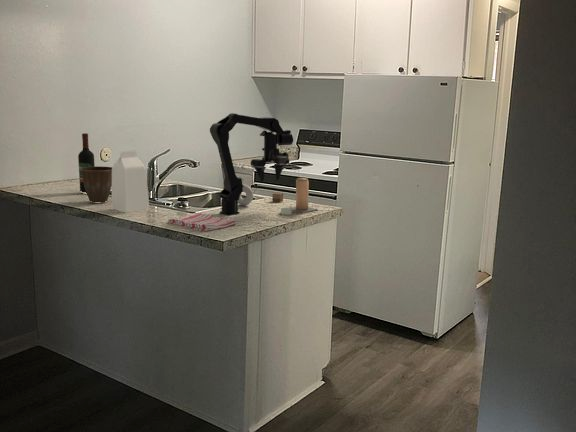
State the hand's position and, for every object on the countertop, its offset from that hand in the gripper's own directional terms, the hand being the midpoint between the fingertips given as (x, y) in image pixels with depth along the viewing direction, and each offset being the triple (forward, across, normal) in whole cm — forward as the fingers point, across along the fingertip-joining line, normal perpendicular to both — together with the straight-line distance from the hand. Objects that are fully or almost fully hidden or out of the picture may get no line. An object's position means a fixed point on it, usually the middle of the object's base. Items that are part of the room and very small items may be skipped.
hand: (270, 180), depth 272 cm
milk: (+13, -49, +38) cm, 63 cm away
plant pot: (+13, -52, +62) cm, 82 cm away
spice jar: (+12, +10, -11) cm, 19 cm away
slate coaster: (+13, +10, -11) cm, 20 cm away
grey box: (+13, 0, -11) cm, 17 cm away
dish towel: (+14, -41, -5) cm, 44 cm away
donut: (+13, -4, +14) cm, 20 cm away
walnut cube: (+13, +16, +12) cm, 24 cm away
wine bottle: (+13, -45, +88) cm, 100 cm away
